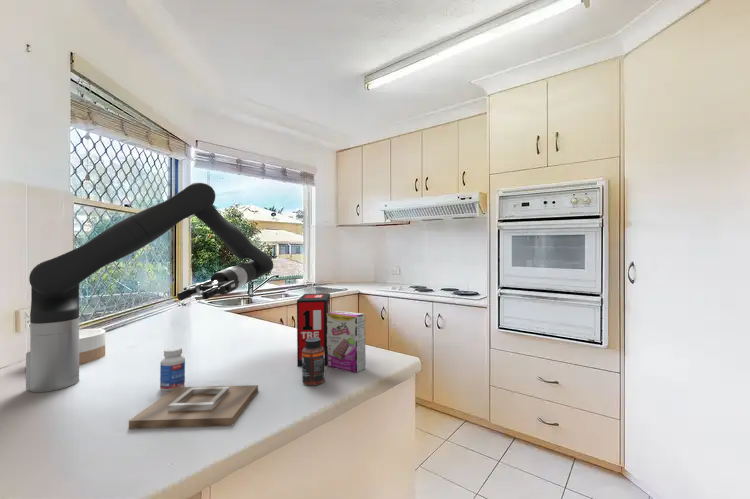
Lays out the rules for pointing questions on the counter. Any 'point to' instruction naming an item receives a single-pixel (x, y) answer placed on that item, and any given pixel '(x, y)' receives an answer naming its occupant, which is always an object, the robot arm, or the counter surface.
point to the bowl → (91, 345)
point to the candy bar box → (346, 341)
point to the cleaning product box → (312, 321)
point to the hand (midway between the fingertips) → (190, 296)
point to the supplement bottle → (313, 362)
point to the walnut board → (196, 407)
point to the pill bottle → (172, 369)
